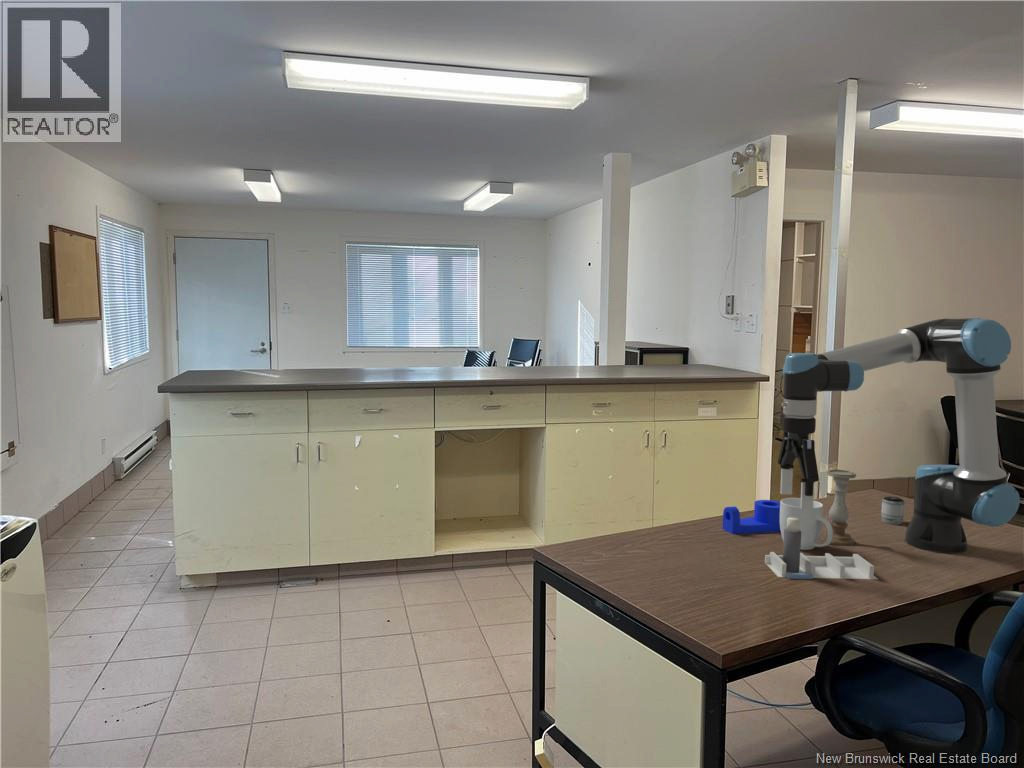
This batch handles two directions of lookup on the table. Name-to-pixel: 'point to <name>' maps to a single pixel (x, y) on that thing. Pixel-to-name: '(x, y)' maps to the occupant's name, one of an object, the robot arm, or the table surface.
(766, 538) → the table surface
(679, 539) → the table surface
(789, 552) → the two-tone capped cylinder
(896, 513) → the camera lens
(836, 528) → the candle holder
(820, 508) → the mug
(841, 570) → the white compartment tray
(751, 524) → the bracket
